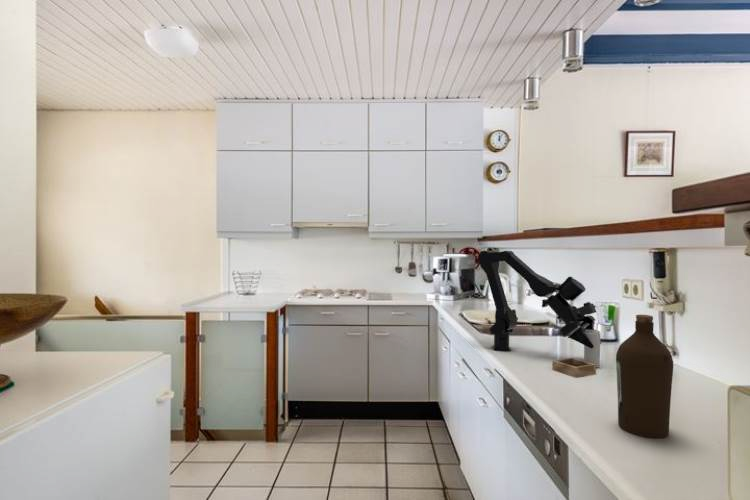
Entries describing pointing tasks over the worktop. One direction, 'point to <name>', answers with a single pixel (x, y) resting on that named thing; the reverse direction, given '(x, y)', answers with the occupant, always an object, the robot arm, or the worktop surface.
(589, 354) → the beverage can
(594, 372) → the walnut socket
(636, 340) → the olive oil
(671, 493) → the worktop surface
